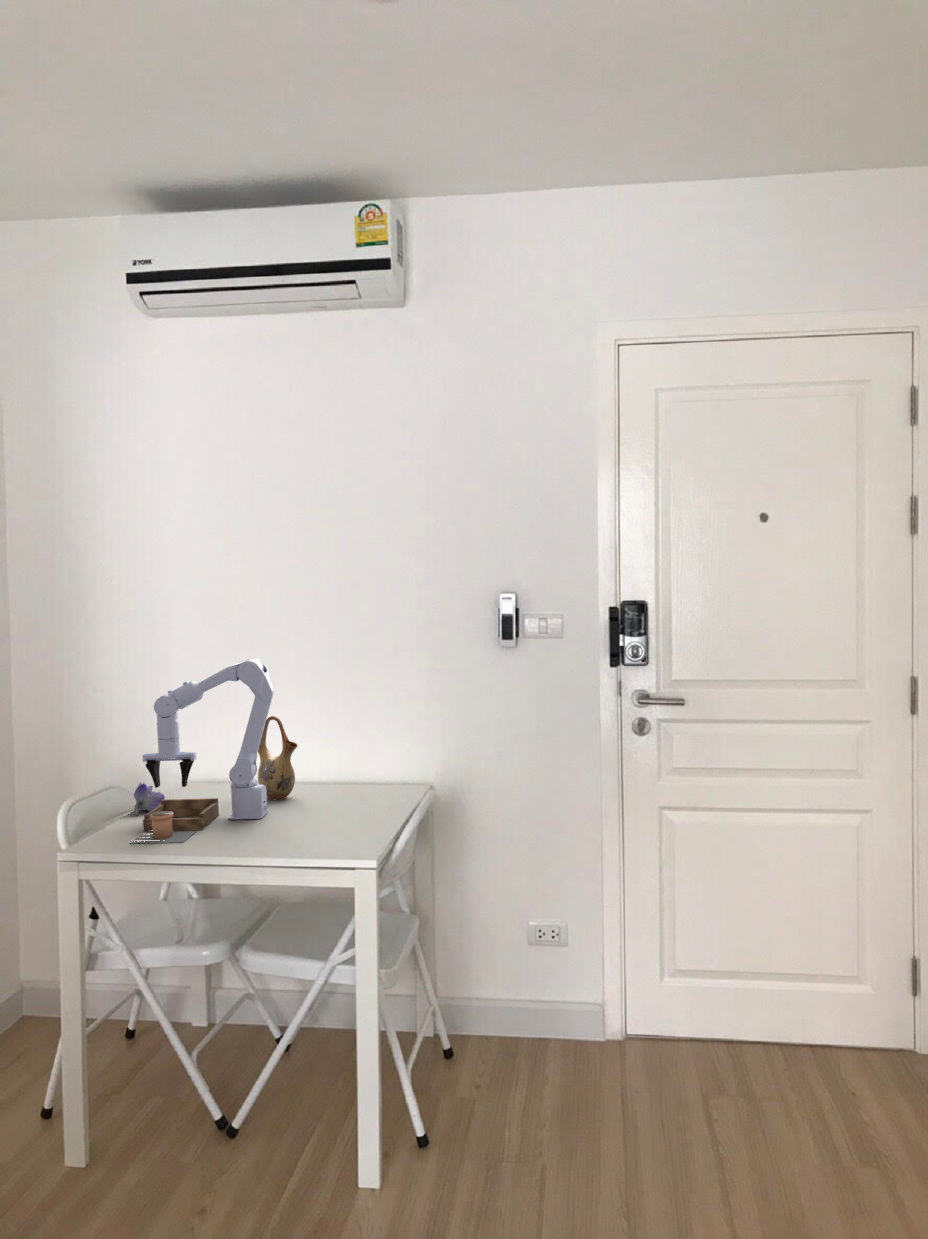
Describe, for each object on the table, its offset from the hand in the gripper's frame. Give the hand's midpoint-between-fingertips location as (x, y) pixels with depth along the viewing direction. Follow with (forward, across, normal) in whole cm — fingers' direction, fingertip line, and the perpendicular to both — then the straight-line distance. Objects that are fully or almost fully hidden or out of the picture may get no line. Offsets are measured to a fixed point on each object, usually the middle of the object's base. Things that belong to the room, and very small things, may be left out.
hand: (171, 786), depth 280 cm
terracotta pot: (+9, -4, +18) cm, 21 cm away
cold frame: (+9, -4, +4) cm, 11 cm away
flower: (+10, +11, -10) cm, 18 cm away
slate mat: (+9, -4, +19) cm, 22 cm away
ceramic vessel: (+10, -24, -23) cm, 35 cm away
